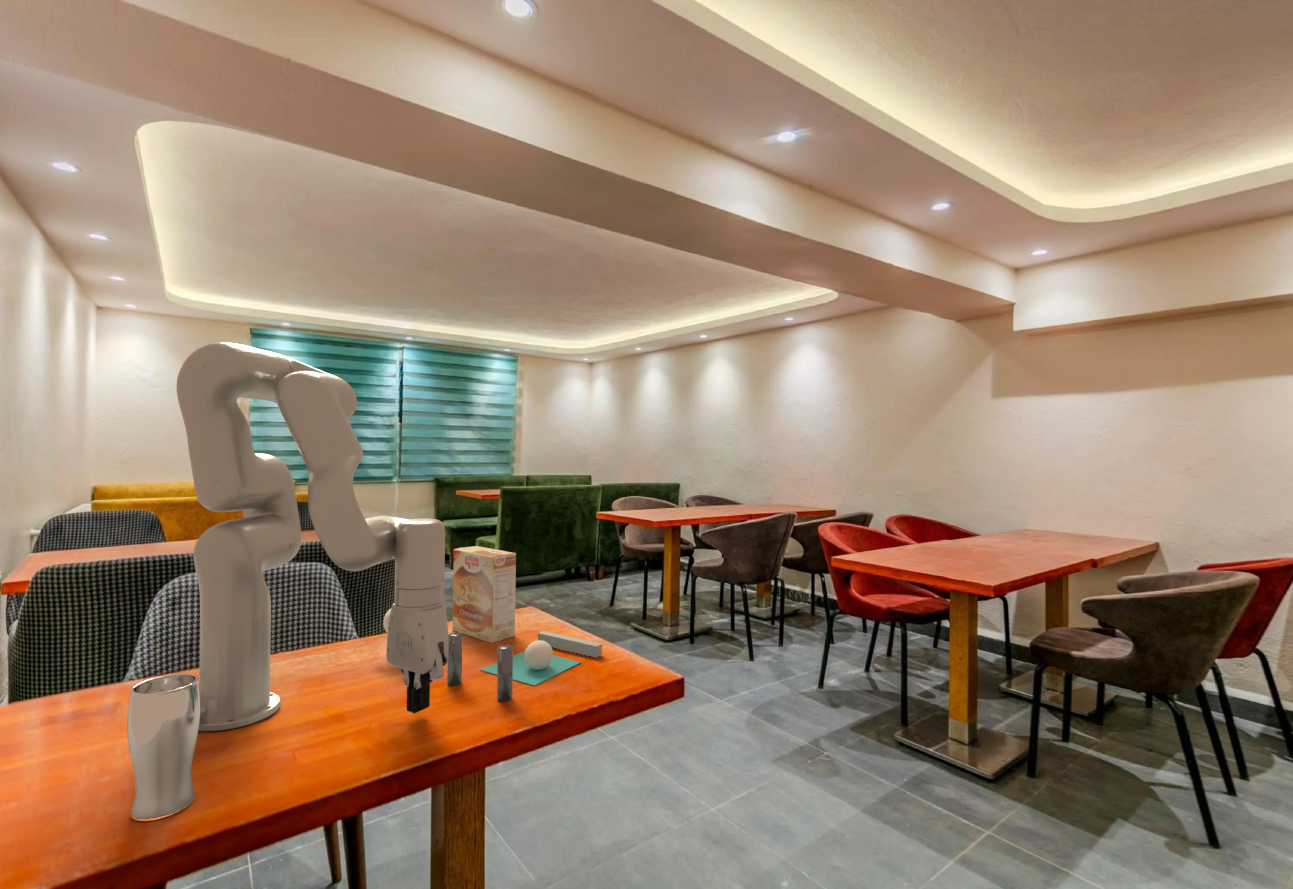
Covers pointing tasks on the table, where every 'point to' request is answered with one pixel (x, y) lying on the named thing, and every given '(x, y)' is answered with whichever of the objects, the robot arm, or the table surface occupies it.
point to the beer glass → (163, 742)
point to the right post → (504, 673)
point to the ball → (538, 655)
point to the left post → (454, 659)
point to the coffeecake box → (484, 593)
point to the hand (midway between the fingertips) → (418, 709)
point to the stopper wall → (571, 644)
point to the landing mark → (534, 676)
